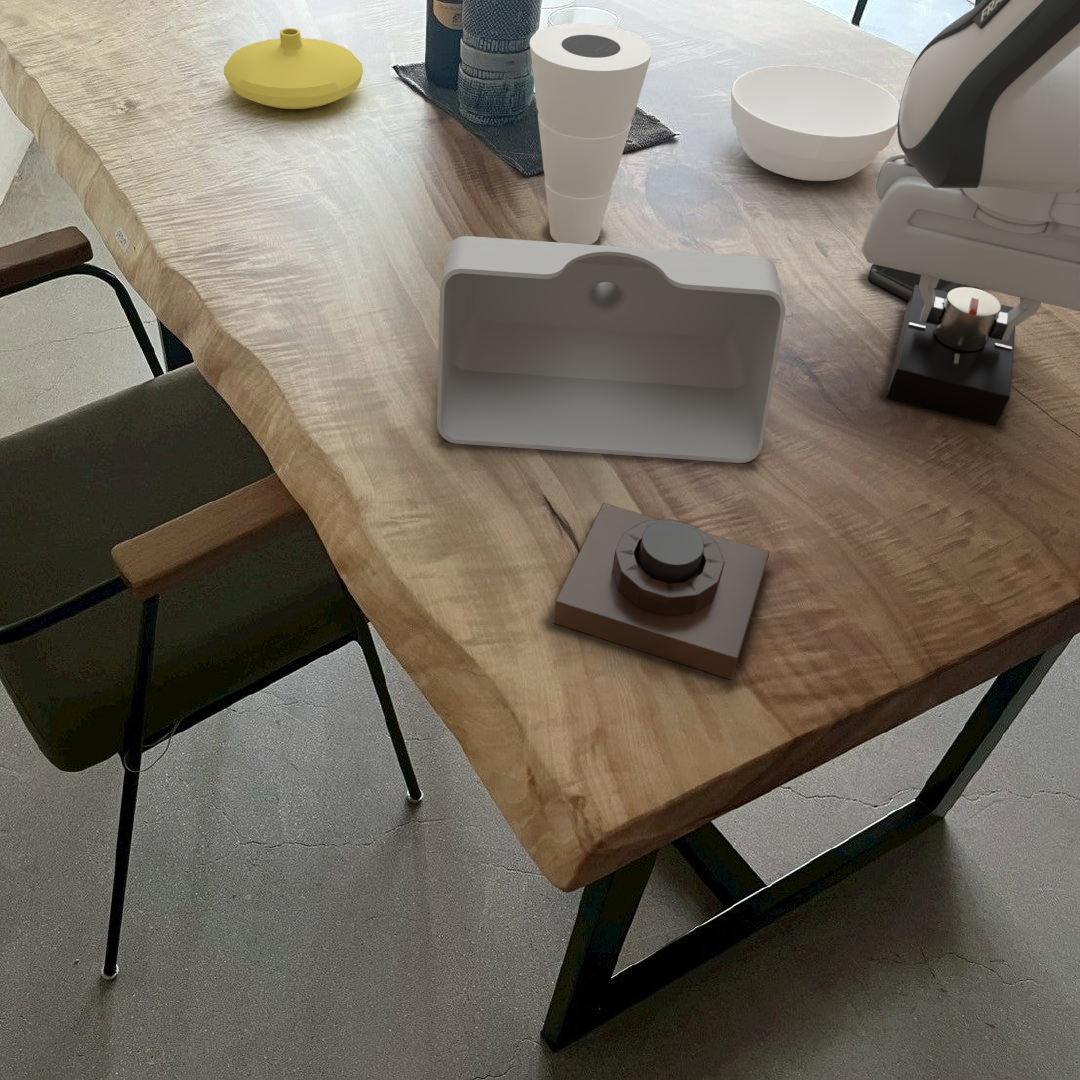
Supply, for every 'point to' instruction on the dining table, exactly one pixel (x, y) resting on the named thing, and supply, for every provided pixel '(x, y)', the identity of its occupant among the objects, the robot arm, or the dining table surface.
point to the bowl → (811, 120)
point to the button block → (662, 595)
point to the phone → (904, 281)
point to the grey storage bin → (607, 349)
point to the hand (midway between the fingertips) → (963, 328)
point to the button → (671, 551)
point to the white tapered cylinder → (584, 118)
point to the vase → (293, 71)
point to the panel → (950, 370)
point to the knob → (967, 319)
